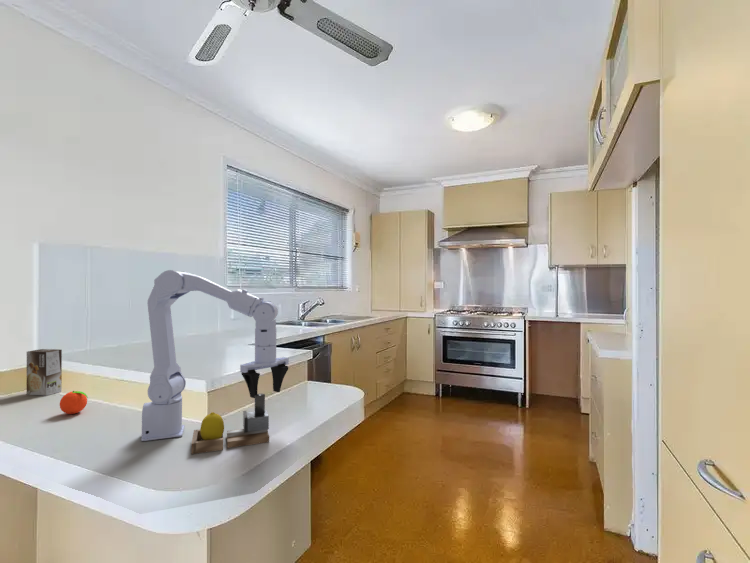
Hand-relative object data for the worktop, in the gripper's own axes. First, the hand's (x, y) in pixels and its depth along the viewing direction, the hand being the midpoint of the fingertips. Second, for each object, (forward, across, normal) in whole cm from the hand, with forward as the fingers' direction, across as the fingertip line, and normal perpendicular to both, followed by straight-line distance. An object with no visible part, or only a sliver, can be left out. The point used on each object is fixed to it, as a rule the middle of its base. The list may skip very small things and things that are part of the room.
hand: (265, 394), depth 108 cm
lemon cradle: (+10, -14, +3) cm, 17 cm away
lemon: (+10, -14, +3) cm, 17 cm away
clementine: (+10, -28, +59) cm, 66 cm away
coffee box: (+10, -28, +98) cm, 102 cm away
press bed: (+10, -7, -2) cm, 12 cm away
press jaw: (+7, -5, -3) cm, 9 cm away
